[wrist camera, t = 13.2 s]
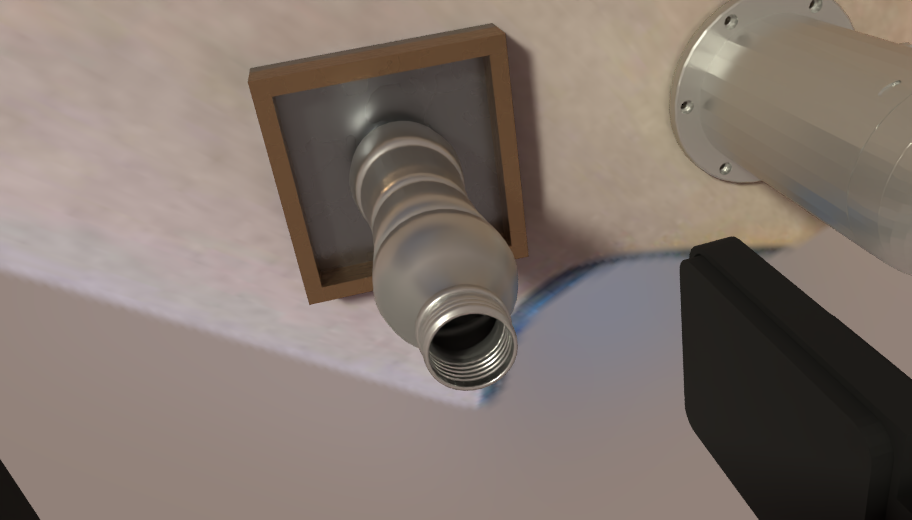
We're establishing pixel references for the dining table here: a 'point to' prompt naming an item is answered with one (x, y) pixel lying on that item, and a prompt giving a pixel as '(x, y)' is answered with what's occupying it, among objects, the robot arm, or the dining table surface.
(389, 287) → the plastic bottle
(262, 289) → the dining table surface
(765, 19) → the robot arm
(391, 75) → the collar base
